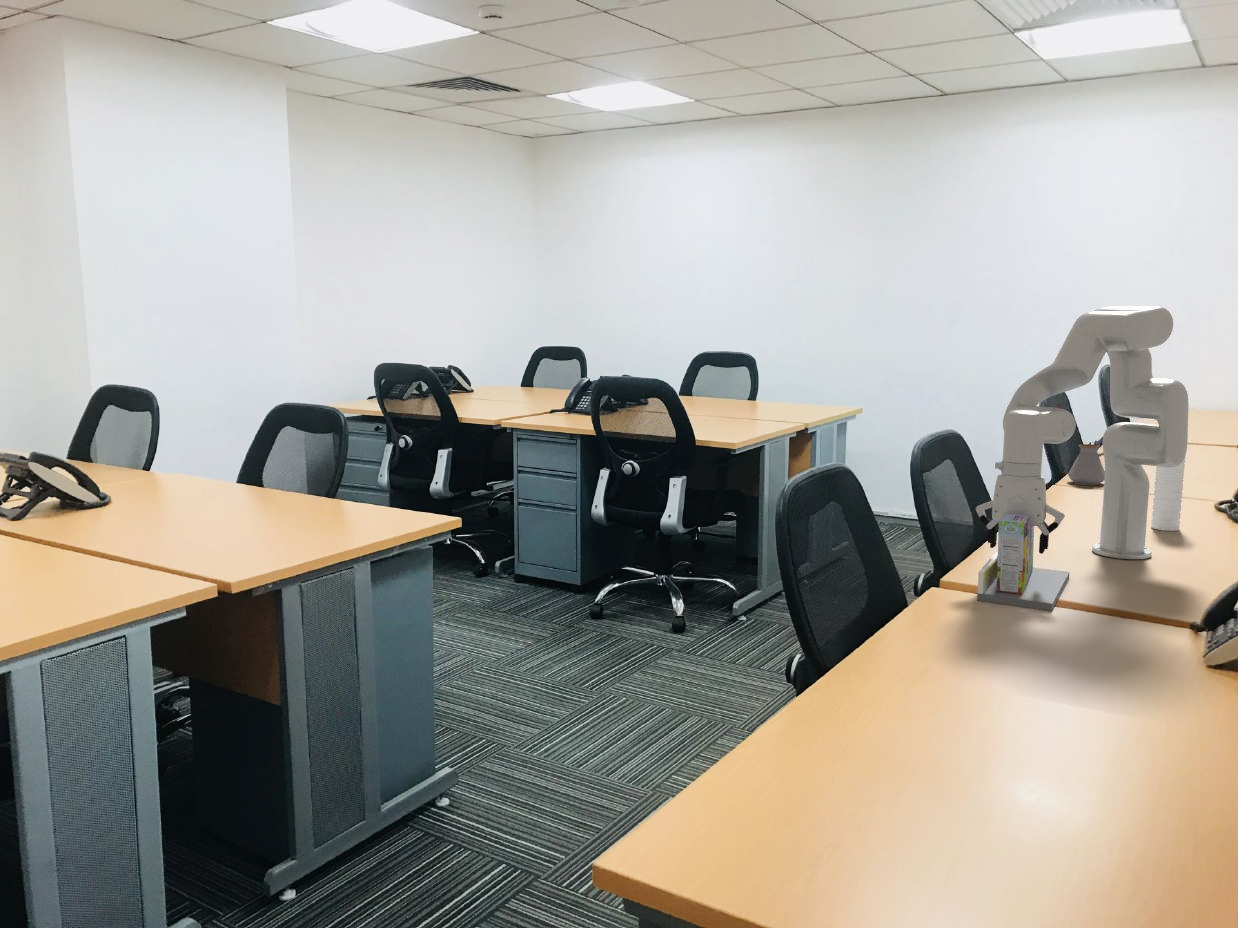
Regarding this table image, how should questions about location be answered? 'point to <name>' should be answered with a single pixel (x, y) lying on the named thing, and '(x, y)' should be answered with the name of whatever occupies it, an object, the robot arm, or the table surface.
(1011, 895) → the table surface
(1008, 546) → the snack box
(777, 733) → the table surface
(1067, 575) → the shelf
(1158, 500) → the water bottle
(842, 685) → the table surface
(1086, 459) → the coffee pot
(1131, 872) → the table surface
